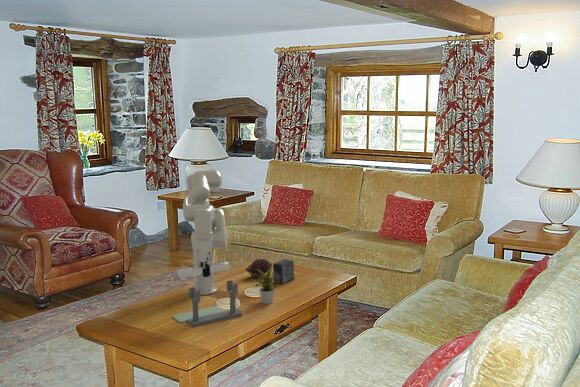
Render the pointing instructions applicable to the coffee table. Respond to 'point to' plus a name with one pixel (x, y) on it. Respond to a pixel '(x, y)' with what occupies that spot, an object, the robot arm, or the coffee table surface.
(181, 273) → the steel rail
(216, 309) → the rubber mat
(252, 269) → the pine cone
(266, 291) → the house plant
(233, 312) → the grey base with uprights
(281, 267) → the small box
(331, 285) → the coffee table surface
